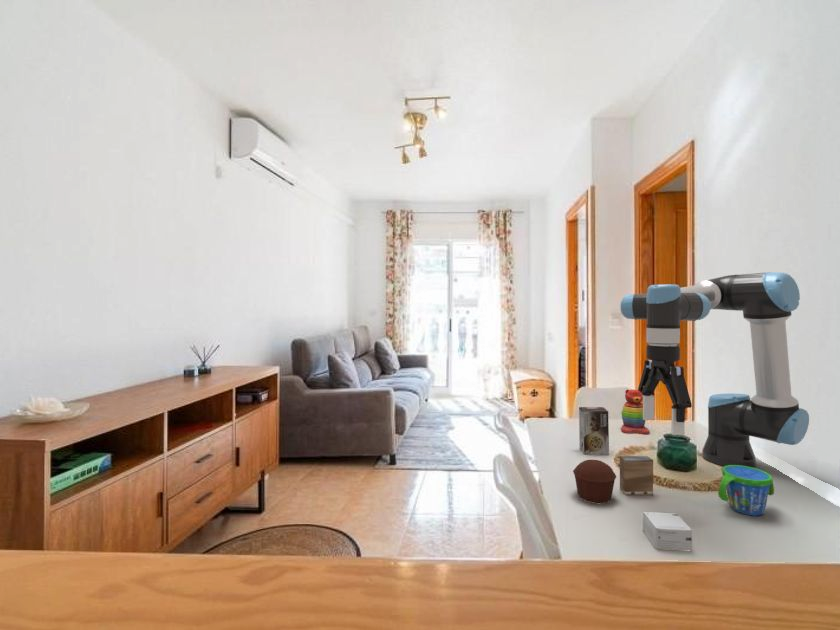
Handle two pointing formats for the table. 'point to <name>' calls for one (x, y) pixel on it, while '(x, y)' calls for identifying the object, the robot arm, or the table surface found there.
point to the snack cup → (746, 488)
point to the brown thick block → (636, 475)
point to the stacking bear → (633, 413)
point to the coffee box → (593, 430)
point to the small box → (667, 531)
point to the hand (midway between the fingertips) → (662, 426)
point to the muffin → (594, 481)
